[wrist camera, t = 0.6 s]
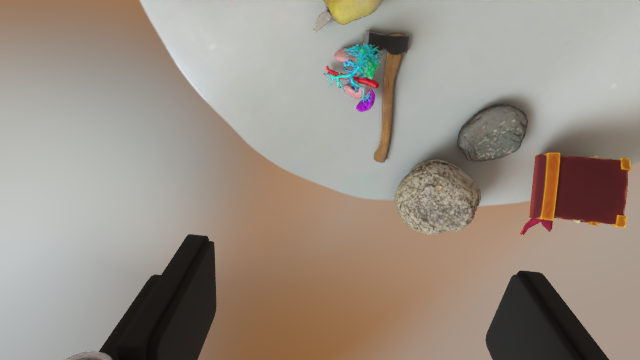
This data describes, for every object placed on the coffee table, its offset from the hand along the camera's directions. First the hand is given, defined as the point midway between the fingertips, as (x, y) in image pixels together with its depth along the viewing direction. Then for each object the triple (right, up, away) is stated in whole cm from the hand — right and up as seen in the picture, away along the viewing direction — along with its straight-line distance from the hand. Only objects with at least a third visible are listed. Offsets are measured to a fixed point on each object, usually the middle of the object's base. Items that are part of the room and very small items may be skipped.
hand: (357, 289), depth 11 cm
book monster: (+29, +1, +27) cm, 40 cm away
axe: (+3, +13, +32) cm, 35 cm away
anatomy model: (0, +17, +31) cm, 35 cm away
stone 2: (+20, +10, +30) cm, 37 cm away
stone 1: (+17, +4, +32) cm, 37 cm away
